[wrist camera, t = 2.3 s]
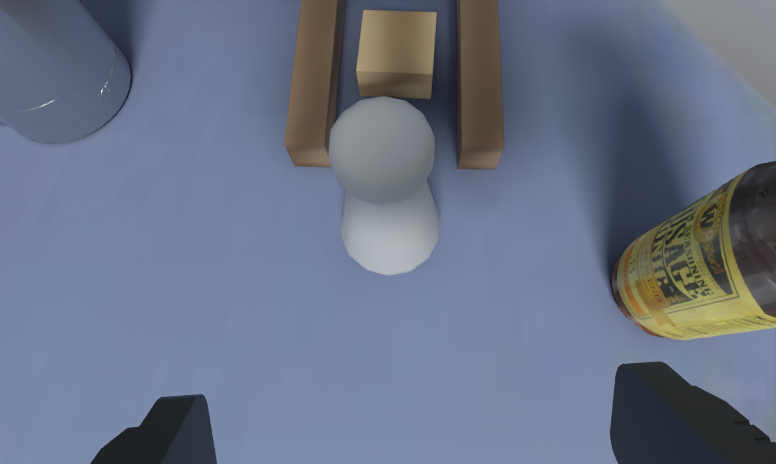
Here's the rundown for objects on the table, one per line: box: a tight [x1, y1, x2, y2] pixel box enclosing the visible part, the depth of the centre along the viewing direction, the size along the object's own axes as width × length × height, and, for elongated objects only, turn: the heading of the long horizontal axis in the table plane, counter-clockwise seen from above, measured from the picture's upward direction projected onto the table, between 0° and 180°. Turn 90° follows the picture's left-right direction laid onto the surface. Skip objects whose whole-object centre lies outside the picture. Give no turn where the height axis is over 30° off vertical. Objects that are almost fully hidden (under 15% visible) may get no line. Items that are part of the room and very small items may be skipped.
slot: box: [284, 0, 504, 169], centre depth 33 cm, size 13×14×3 cm
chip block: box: [356, 10, 437, 99], centre depth 34 cm, size 5×5×3 cm
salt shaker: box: [329, 96, 439, 276], centre depth 24 cm, size 6×6×13 cm
